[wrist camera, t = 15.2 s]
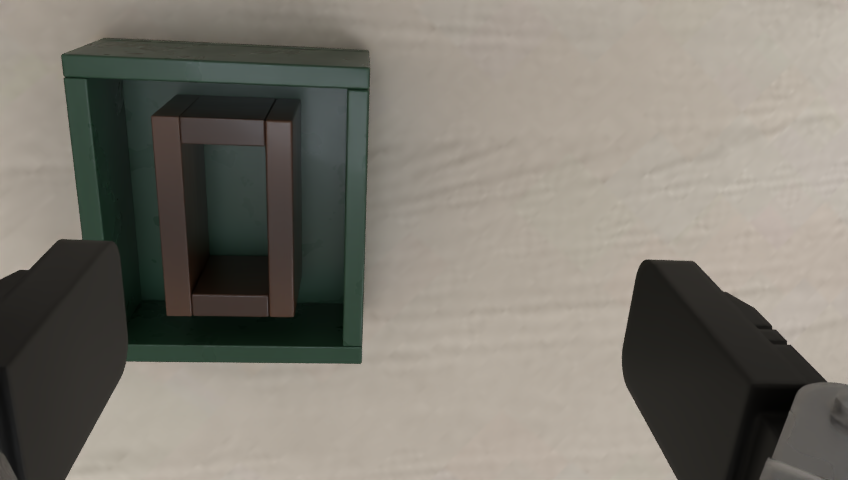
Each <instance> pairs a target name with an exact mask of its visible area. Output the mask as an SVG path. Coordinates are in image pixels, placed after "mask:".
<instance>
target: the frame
mask: <svg viewBox="0 0 848 480" xmlns="http://www.w3.org/2000/svg"><path fill="white" fill-rule="evenodd" d="M151 125H152V138H153V151H154V164H155V176H156V189H157V202H158V214H159V227H160V240H161V252H162V265H163V278H164V290H165V303H166V315H167V316H192V315H193V316H235V317H268V316H269V315H270V317H294V315H295V310H296V305H297V299H298V294H299V288H300V283H301V277H302V228H301V101H300V100H299V99H277V100H276V99H275V98H255V97H229V96H203V95H202V96H200V95H175V96H174V97H173V98H172V99H171V100H169V101H168V102H167V103H166V104H165V105H164V106H162V107H161V108H160V109H159V110H158V111H156V112H155V113H154V114H153V115H152V116H151ZM204 144H207V145H237V146H265V153H266V195H267V238H268V256H219V255H211V256H210V254H209V235H208V217H207V198H206V180H205V161H204Z"/></svg>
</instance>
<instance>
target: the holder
mask: <svg viewBox="0 0 848 480" xmlns="http://www.w3.org/2000/svg"><path fill="white" fill-rule="evenodd" d="M61 58H62V66H63V75H64V76H65V78H64V85H65V94H66V102H67V111H68V119H69V128H70V137H71V145H72V154H73V162H74V171H75V179H76V188H77V196H78V205H79V213H80V222H81V231H82V239H83V240H97V241H113V242H115V244H116V245H117V247H118V250H119V254H120V260H121V269H122V280H123V290H124V300H125V310H126V321H127V331H128V351H127V359H126V361H137V362H241V363H344V364H361V363H362V334H363V299H364V264H365V229H366V194H367V159H368V124H369V87H370V58H369V50H357V49H335V48H313V47H291V46H269V45H248V44H226V43H204V42H182V41H161V40H139V39H117V38H103V39H100V40H98V41H95V42H92V43H90V44H87V45H85V46H82V47H80V48H77V49H74V50H72V51H69V52H67V53H64V54H62V55H61ZM175 95H200V96H202V95H203V96H229V97H255V98H275V99H276V100H277V99H299V100H300V101H301V228H302V277H301V283H300V288H299V294H298V299H297V305H296V310H295V315H294V317H270V315H269V316H268V317H235V316H193V315H192V316H167V315H166V303H165V290H164V278H163V265H162V252H161V240H160V227H159V214H158V202H157V189H156V176H155V164H154V151H153V138H152V125H151V116H152V115H153V114H154V113H155V112H156V111H158V110H159V109H160V108H161V107H162V106H164V105H165V104H166V103H167V102H168V101H169V100H171V99H172V98H173V97H174V96H175ZM204 161H205V180H206V198H207V217H208V235H209V254H210V256H211V255H219V256H268V238H267V195H266V153H265V146H237V145H207V144H204Z"/></svg>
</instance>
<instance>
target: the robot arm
mask: <svg viewBox="0 0 848 480" xmlns="http://www.w3.org/2000/svg"><path fill="white" fill-rule="evenodd" d="M127 351H128V331H127V321H126V310H125V300H124V290H123V280H122V269H121V260H120V254H119V250H118V247H117V245H116V244H115V242H113V241H97V240H67V239H61V240H58V241H57V242H56V243H55V244H54V245H53V246H52V247H51V248H50V249H49V250H48V251H47V252H46V253H45V254H44V255H43V256H42V257H41V258H40V259H39V260H38V261H37V262H36V263H35V264H34V265H33V266H32V267H31V269H30V270H19V271H17V272H15V273H13V274H11V275H9V276H7V277H5V278H3V279H1V280H0V480H65V479H66V477H67V475H68V473H69V471H70V469H71V468H72V466H73V464H74V462H75V460H76V459H77V457H78V455H79V453H80V451H81V449H82V448H83V446H84V444H85V442H86V440H87V438H88V437H89V435H90V433H91V431H92V429H93V427H94V426H95V424H96V422H97V420H98V418H99V416H100V415H101V413H102V411H103V409H104V407H105V406H106V404H107V402H108V400H109V398H110V396H111V395H112V393H113V391H114V389H115V387H116V385H117V384H118V382H119V380H120V378H121V376H122V374H123V371H124V368H125V364H126V359H127ZM622 369H623V376H624V380H625V383H626V386H627V388H628V390H629V392H630V394H631V395H632V397H633V399H634V401H635V403H636V405H637V406H638V408H639V410H640V412H641V414H642V416H643V417H644V419H645V421H646V423H647V425H648V426H649V428H650V430H651V432H652V434H653V436H654V437H655V439H656V441H657V443H658V445H659V447H660V448H661V450H662V452H663V454H664V456H665V458H666V459H667V461H668V463H669V465H670V467H671V468H672V470H673V472H674V474H675V476H676V478H677V479H678V480H848V385H847V384H841V383H831V382H827V381H826V380H825V379H824V378H823V377H822V376H821V375H820V374H819V373H818V372H817V371H816V370H815V369H814V368H813V367H812V366H811V365H810V364H809V363H808V362H807V361H806V360H805V359H804V358H803V357H802V356H801V355H800V354H799V353H798V352H797V351H796V350H795V349H794V348H793V347H792V346H791V345H787V341H786V340H785V339H784V338H783V337H782V336H781V335H780V334H779V332H778V331H777V330H772V325H771V324H770V323H769V322H768V321H767V320H766V319H765V318H764V317H763V316H762V315H761V314H760V313H759V312H758V311H757V310H756V309H755V308H753V307H752V306H750V305H748V304H746V303H745V302H743V301H741V300H739V299H738V298H736V297H734V296H732V295H730V294H729V293H727V292H723V291H722V290H721V289H720V288H719V287H718V286H717V285H716V284H715V283H714V282H713V281H712V280H711V279H710V278H709V276H708V275H707V274H706V273H705V272H704V271H703V270H702V269H701V268H700V267H699V266H698V265H697V264H696V263H695V262H693V261H674V260H644V261H643V262H642V263H641V265H640V267H639V269H638V272H637V275H636V280H635V285H634V290H633V296H632V301H631V306H630V312H629V317H628V322H627V328H626V333H625V338H624V343H623V350H622Z"/></svg>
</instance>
